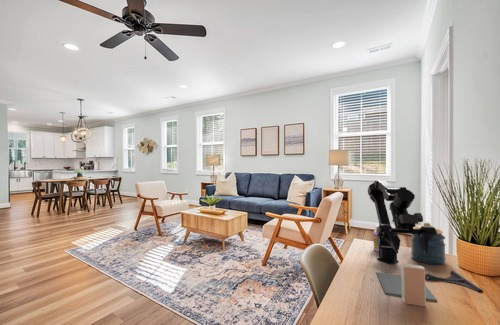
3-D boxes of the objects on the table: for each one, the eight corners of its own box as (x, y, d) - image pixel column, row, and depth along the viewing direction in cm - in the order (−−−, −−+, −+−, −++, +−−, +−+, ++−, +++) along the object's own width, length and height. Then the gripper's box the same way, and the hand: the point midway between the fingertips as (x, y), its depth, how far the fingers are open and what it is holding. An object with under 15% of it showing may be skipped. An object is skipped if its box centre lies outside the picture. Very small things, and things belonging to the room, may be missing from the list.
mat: (376, 273, 96) (376, 272, 96) (419, 279, 91) (418, 277, 91) (385, 294, 81) (385, 292, 81) (437, 301, 76) (437, 300, 76)
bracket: (415, 272, 98) (414, 265, 98) (454, 275, 95) (454, 268, 95) (435, 290, 84) (435, 283, 84) (483, 294, 81) (483, 286, 81)
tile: (401, 299, 77) (401, 263, 77) (423, 302, 75) (422, 266, 76) (404, 303, 75) (403, 266, 75) (426, 306, 73) (425, 269, 73)
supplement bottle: (370, 249, 124) (370, 225, 124) (379, 247, 126) (379, 223, 126) (382, 253, 117) (381, 228, 118) (391, 251, 120) (390, 226, 120)
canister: (428, 266, 102) (427, 226, 102) (404, 255, 115) (403, 220, 115) (453, 264, 104) (452, 225, 104) (427, 253, 117) (426, 218, 117)
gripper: (379, 203, 89) (388, 243, 79) (435, 205, 85) (452, 247, 75) (373, 217, 97) (381, 254, 87) (424, 219, 93) (438, 259, 83)
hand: (411, 253), depth 83 cm, fingers open, 9 cm apart
